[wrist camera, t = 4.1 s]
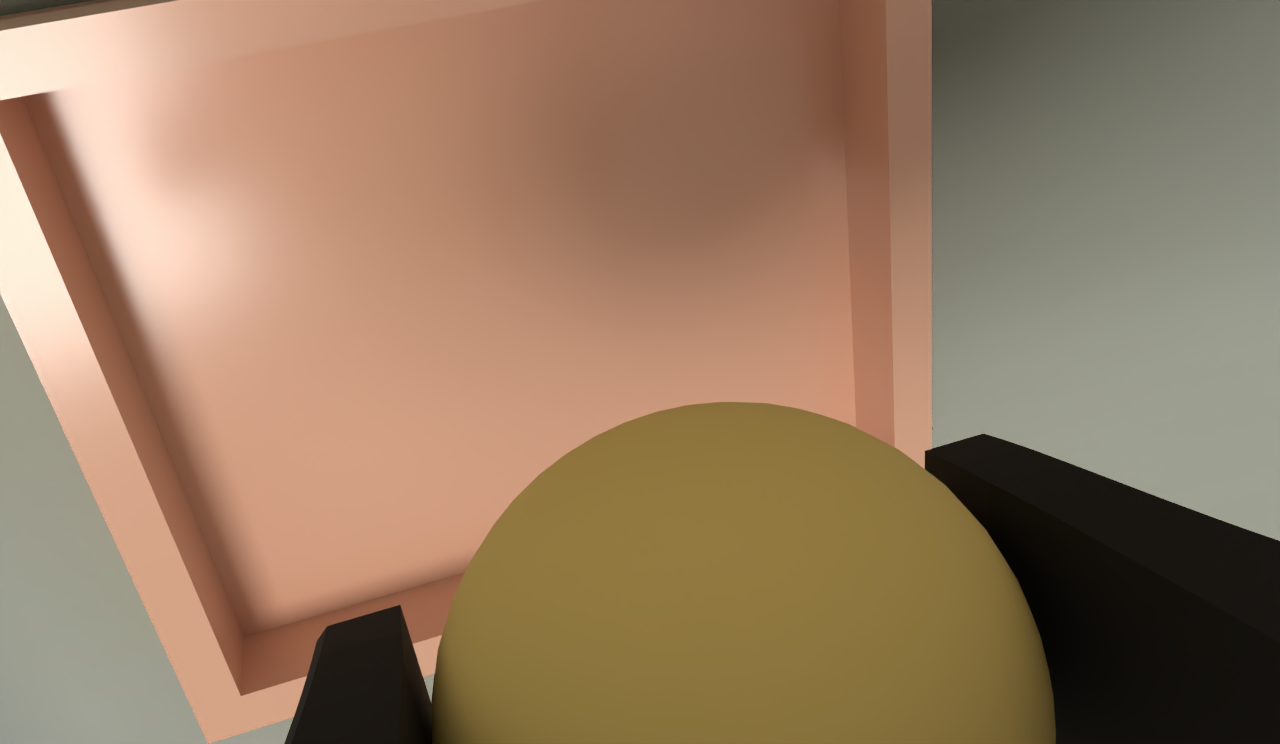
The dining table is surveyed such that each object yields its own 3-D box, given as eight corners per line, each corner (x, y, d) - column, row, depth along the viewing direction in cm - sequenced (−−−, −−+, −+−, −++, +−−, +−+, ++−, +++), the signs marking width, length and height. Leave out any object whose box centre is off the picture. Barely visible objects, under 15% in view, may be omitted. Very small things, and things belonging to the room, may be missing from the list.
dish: (876, 463, 20) (931, 518, 18) (216, 657, 18) (208, 743, 16) (858, -130, 15) (931, -130, 13) (-58, 25, 13) (-113, 49, 11)
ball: (867, 642, 12) (1174, 1044, 8) (461, 779, 11) (567, 1323, 7) (852, 259, 10) (1269, 540, 6) (340, 388, 9) (393, 846, 5)
